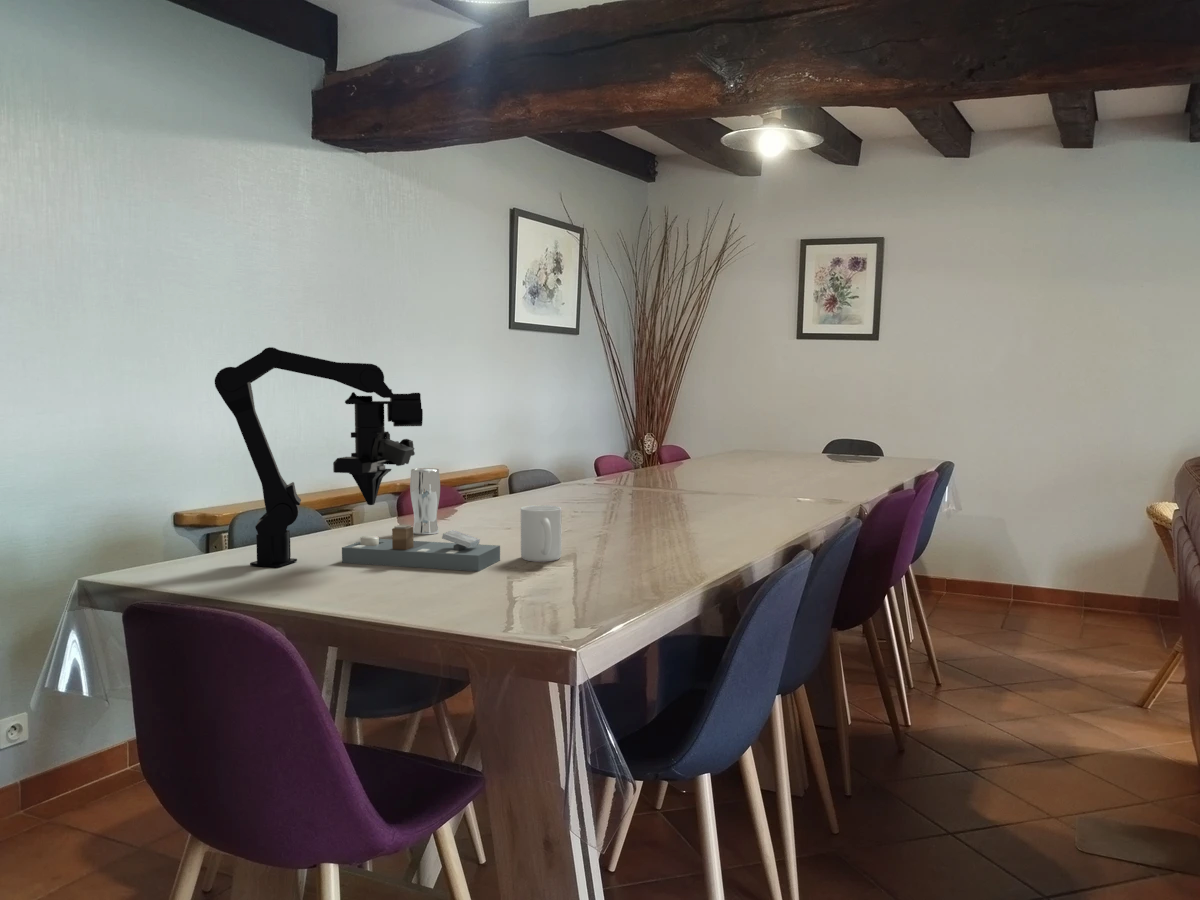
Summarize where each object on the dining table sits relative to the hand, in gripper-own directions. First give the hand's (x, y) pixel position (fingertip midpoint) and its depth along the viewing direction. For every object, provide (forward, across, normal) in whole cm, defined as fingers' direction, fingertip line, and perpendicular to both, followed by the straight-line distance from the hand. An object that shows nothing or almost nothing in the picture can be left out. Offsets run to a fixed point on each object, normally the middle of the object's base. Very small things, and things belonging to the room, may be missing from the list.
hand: (371, 504), depth 184 cm
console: (+11, +1, -10) cm, 15 cm away
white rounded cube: (+11, +1, +1) cm, 11 cm away
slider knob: (+8, -2, -8) cm, 12 cm away
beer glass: (+11, +32, +4) cm, 34 cm away
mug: (+11, +9, -33) cm, 36 cm away
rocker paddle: (+6, 0, -19) cm, 20 cm away
